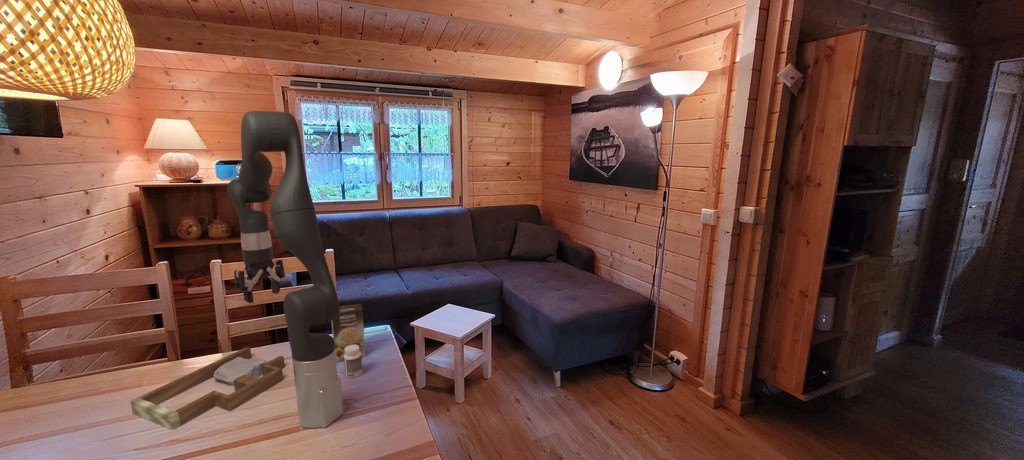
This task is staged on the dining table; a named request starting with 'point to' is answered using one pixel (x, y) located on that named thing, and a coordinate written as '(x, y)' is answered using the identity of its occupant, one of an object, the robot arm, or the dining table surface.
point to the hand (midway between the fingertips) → (263, 297)
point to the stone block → (239, 369)
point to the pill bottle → (353, 361)
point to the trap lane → (243, 392)
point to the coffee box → (348, 330)
